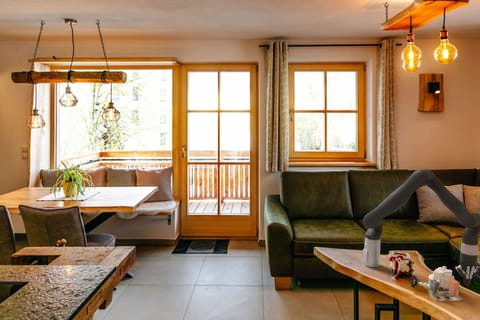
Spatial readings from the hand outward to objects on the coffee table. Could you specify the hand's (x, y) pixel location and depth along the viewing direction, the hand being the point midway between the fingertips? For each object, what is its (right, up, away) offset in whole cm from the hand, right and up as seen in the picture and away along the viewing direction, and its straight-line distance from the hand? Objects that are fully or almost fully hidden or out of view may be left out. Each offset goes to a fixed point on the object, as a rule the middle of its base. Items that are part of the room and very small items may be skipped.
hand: (467, 284), depth 188 cm
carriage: (-7, -5, 0) cm, 8 cm away
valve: (-18, -6, +7) cm, 21 cm away
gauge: (-11, -6, -1) cm, 13 cm away
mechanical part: (-8, -6, +11) cm, 14 cm away
